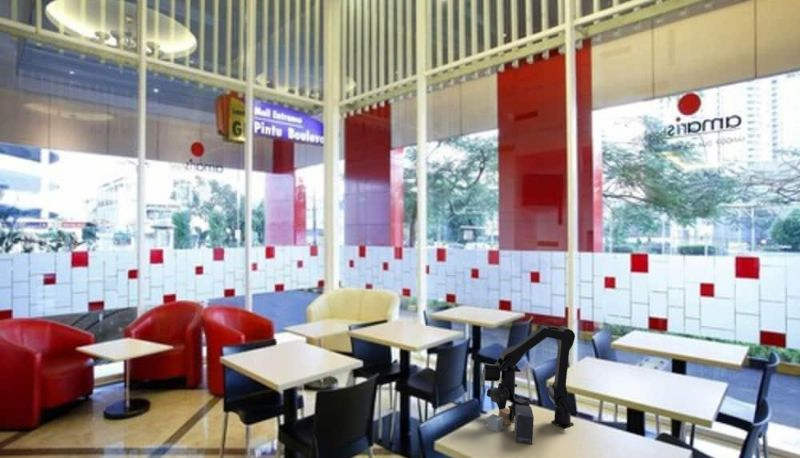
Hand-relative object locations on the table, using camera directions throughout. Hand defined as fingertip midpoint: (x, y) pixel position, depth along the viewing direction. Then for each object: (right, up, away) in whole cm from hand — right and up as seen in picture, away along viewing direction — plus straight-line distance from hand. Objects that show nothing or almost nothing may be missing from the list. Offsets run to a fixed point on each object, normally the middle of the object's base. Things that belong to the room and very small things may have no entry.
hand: (506, 419), depth 183 cm
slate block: (-6, -1, -7) cm, 9 cm away
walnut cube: (0, -1, 0) cm, 1 cm away
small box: (+3, -1, -14) cm, 14 cm away
